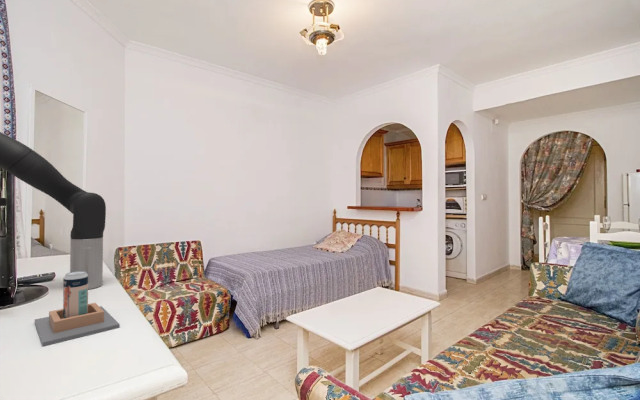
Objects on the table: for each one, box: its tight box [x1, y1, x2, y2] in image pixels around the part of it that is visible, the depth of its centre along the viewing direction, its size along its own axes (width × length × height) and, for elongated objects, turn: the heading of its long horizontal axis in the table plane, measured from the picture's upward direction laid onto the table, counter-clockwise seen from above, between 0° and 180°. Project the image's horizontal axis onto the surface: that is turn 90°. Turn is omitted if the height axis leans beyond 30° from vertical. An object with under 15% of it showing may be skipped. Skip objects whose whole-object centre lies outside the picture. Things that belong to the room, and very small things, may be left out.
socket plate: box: [34, 302, 120, 347], centre depth 77 cm, size 18×14×3 cm
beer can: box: [62, 271, 89, 319], centre depth 77 cm, size 5×5×12 cm
